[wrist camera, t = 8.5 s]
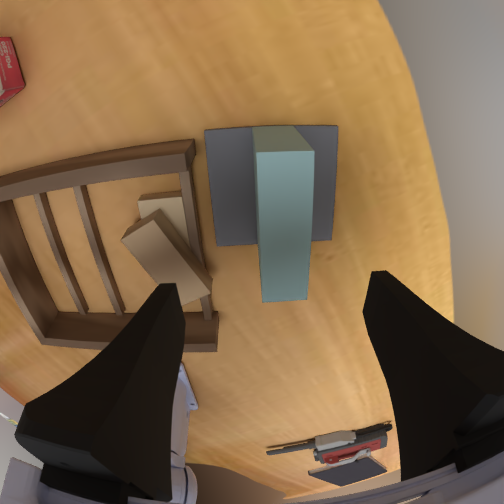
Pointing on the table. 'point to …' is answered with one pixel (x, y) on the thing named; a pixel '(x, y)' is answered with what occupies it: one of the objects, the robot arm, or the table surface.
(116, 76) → the table surface
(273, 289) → the teal rectangular block
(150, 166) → the rack
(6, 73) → the ink box
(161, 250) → the offcut upper
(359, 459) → the notebook
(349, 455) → the walkie-talkie
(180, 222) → the offcut lower
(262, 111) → the table surface
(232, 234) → the pad
